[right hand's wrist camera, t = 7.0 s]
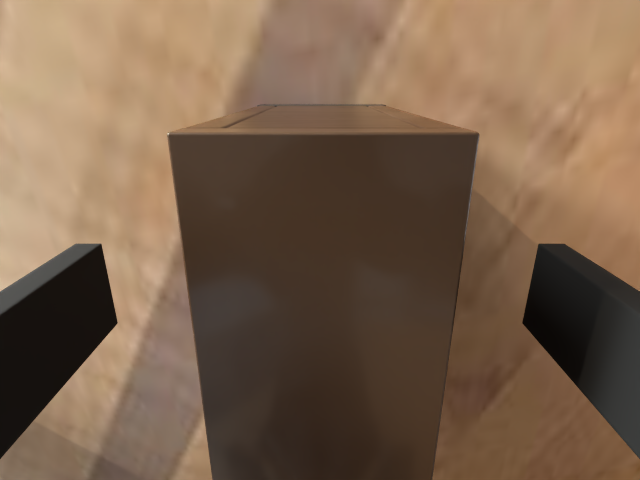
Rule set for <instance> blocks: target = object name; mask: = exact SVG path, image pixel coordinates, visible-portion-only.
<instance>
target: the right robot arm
mask: <svg viewBox="0 0 640 480" xmlns="http://www.w3.org/2000/svg"><path fill="white" fill-rule="evenodd" d="M116 324H117V318H116V313H115V308H114V303H113V298H112V294H111V289H110V284H109V279H108V274H107V269H106V264H105V260H104V255H103V250H102V245H101V244H75V245H73V246H72V247H70V248H68V249H67V250H65V251H64V252H62V253H60V254H59V255H57V256H56V257H54V258H53V259H51V260H49V261H48V262H46V263H45V264H43V265H42V266H40V267H38V268H37V269H35V270H34V271H32V272H31V273H29V274H27V275H26V276H24V277H23V278H21V279H19V280H18V281H16V282H15V283H13V284H12V285H10V286H8V287H7V288H5V289H4V290H2V291H1V292H0V459H1V457H2V456H3V455H4V454H5V453H6V452H7V451H8V449H9V448H10V447H11V446H12V445H13V444H14V442H15V441H16V440H17V439H18V438H19V437H20V435H21V434H22V433H23V432H24V431H25V430H26V429H27V427H28V426H29V425H30V424H31V423H32V422H33V420H34V419H35V418H36V417H37V416H38V415H39V413H40V412H41V411H42V410H43V409H44V408H45V407H46V405H47V404H48V403H49V402H50V401H51V400H52V398H53V397H54V396H55V395H56V394H57V393H58V392H59V390H60V389H61V388H62V387H63V386H64V385H65V383H66V382H67V381H68V380H69V379H70V378H71V376H72V375H73V374H74V373H75V372H76V371H77V370H78V368H79V367H80V366H81V365H82V364H83V363H84V361H85V360H86V359H87V358H88V357H89V356H90V354H91V353H92V352H93V351H94V350H95V349H96V348H97V346H98V345H99V344H100V343H101V342H102V341H103V339H104V338H105V337H106V336H107V335H108V334H109V332H110V331H111V330H112V329H113V328H114V327H115V326H116ZM523 324H524V326H525V327H526V328H527V329H528V330H529V331H530V332H531V334H532V335H533V336H534V337H535V338H536V339H537V341H538V342H539V343H540V344H541V345H542V346H543V348H544V349H545V350H546V351H547V352H548V353H549V354H550V356H551V357H552V358H553V359H554V360H555V361H556V363H557V364H558V365H559V366H560V367H561V368H562V370H563V371H564V372H565V373H566V374H567V375H568V376H569V378H570V379H571V380H572V381H573V382H574V383H575V385H576V386H577V387H578V388H579V389H580V390H581V392H582V393H583V394H584V395H585V396H586V397H587V398H588V400H589V401H590V402H591V403H592V404H593V405H594V407H595V408H596V409H597V410H598V411H599V412H600V413H601V415H602V416H603V417H604V418H605V419H606V420H607V422H608V423H609V424H610V425H611V426H612V427H613V429H614V430H615V431H616V432H617V433H618V434H619V435H620V437H621V438H622V439H623V440H624V441H625V442H626V444H627V445H628V446H629V447H630V448H631V449H632V451H633V452H634V453H635V454H636V455H637V456H638V457H639V459H640V292H639V291H638V290H636V289H635V288H633V287H632V286H630V285H628V284H627V283H625V282H624V281H622V280H621V279H619V278H617V277H616V276H614V275H613V274H611V273H609V272H608V271H606V270H605V269H603V268H602V267H600V266H598V265H597V264H595V263H594V262H592V261H591V260H589V259H587V258H586V257H584V256H583V255H581V254H580V253H578V252H576V251H575V250H573V249H572V248H570V247H568V246H567V245H565V244H539V245H538V250H537V255H536V260H535V264H534V269H533V274H532V279H531V284H530V289H529V293H528V298H527V303H526V308H525V313H524V318H523Z"/></svg>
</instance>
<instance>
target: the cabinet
mask: <svg viewBox="0 0 640 480" xmlns="http://www.w3.org/2000/svg"><path fill="white" fill-rule="evenodd" d="M167 137H168V145H169V153H170V160H171V168H172V175H173V183H174V191H175V198H176V206H177V213H178V221H179V229H180V236H181V244H182V251H183V259H184V266H185V274H186V282H187V289H188V297H189V304H190V312H191V320H192V327H193V335H194V342H195V350H196V358H197V365H198V373H199V380H200V388H201V396H202V403H203V411H204V418H205V426H206V434H207V441H208V449H209V456H210V464H211V472H212V479H213V480H432V476H433V469H434V462H435V454H436V447H437V440H438V433H439V425H440V418H441V411H442V404H443V396H444V389H445V382H446V374H447V367H448V360H449V353H450V345H451V338H452V331H453V323H454V316H455V309H456V302H457V294H458V287H459V280H460V272H461V265H462V258H463V251H464V243H465V236H466V229H467V221H468V214H469V207H470V200H471V192H472V185H473V178H474V170H475V163H476V156H477V149H478V141H479V133H478V132H475V131H471V130H468V129H464V128H460V127H456V126H453V125H450V124H446V123H443V122H439V121H436V120H432V119H429V118H425V117H422V116H418V115H415V114H411V113H408V112H404V111H401V110H397V109H394V108H390V107H387V106H386V105H257V107H254V108H250V109H247V110H244V111H240V112H237V113H234V114H231V115H227V116H224V117H221V118H217V119H214V120H211V121H207V122H204V123H201V124H197V125H194V126H191V127H187V128H182V129H178V130H175V131H172V132H169V133H168V134H167Z"/></svg>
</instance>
